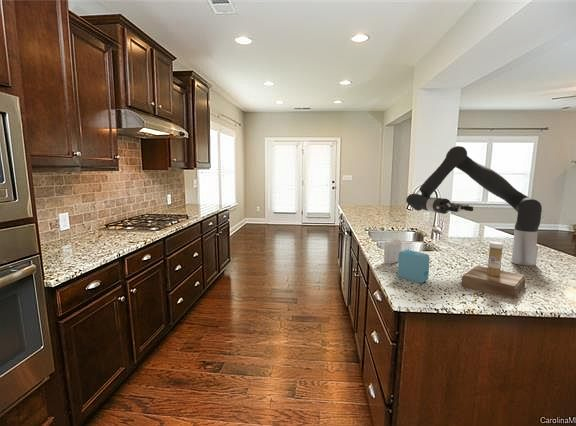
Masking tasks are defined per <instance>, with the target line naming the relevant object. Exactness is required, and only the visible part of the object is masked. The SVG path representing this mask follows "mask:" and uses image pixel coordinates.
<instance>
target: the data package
mask: <svg viewBox="0 0 576 426" xmlns="http://www.w3.org/2000/svg"><path fill="white" fill-rule="evenodd" d="M430 260H431V259H430V256H429V254H427V253H422V252H419V251H414V250H409V249H405V250H401V252H399V256H398V262H397V276H398V277H399V278H400V279H401V278H402V279H406V280H408V281H411V282H415V283H419V284H423V283H425V282H427V281H428V280H429V274H430V271H429V270H430Z"/></svg>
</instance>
